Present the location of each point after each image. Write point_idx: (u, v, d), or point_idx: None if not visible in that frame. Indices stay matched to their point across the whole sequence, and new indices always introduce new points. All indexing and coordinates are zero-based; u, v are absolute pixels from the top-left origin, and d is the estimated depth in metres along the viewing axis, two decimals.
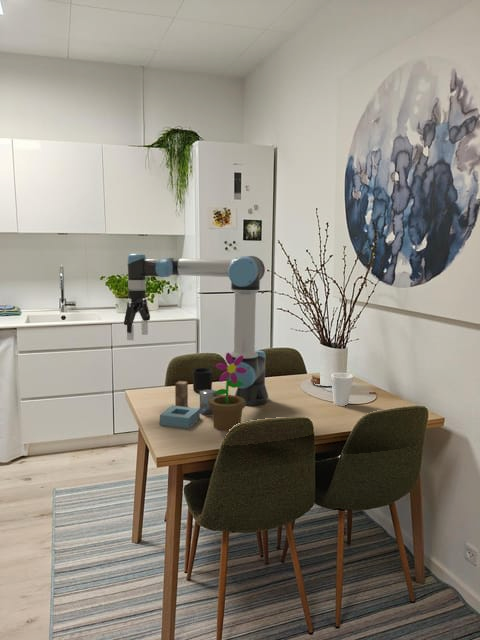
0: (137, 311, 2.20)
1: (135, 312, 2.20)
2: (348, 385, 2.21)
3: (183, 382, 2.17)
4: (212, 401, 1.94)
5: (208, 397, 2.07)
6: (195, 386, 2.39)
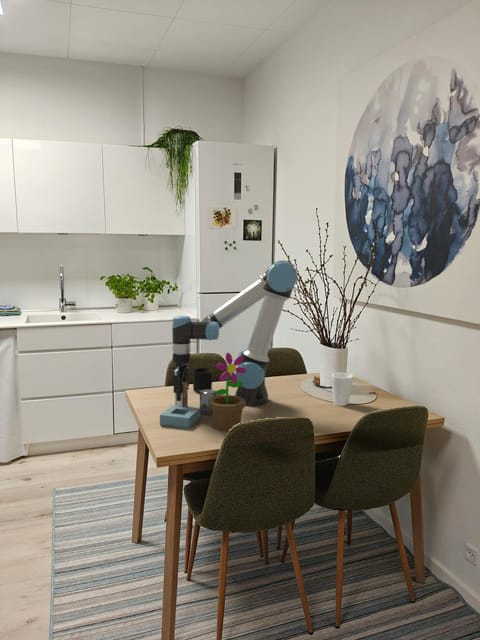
0: (183, 376, 2.14)
1: (182, 378, 2.14)
2: (348, 385, 2.21)
3: (183, 382, 2.17)
4: (212, 401, 1.94)
5: (208, 397, 2.07)
6: (195, 386, 2.39)
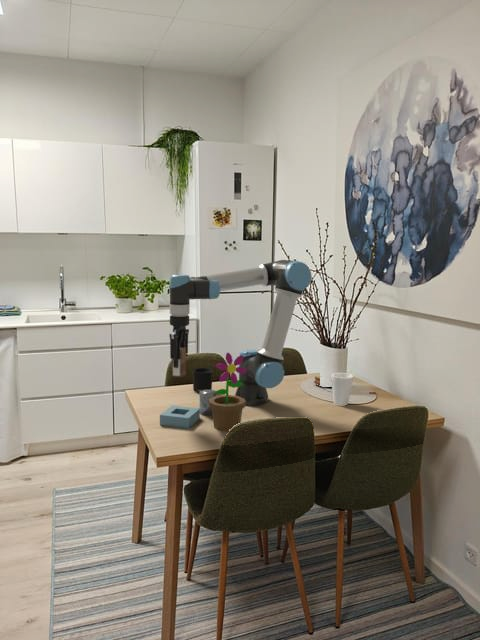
0: (181, 340, 1.96)
1: (179, 343, 1.95)
2: (348, 385, 2.21)
3: (181, 347, 1.98)
4: (212, 401, 1.94)
5: (208, 397, 2.07)
6: (195, 386, 2.39)
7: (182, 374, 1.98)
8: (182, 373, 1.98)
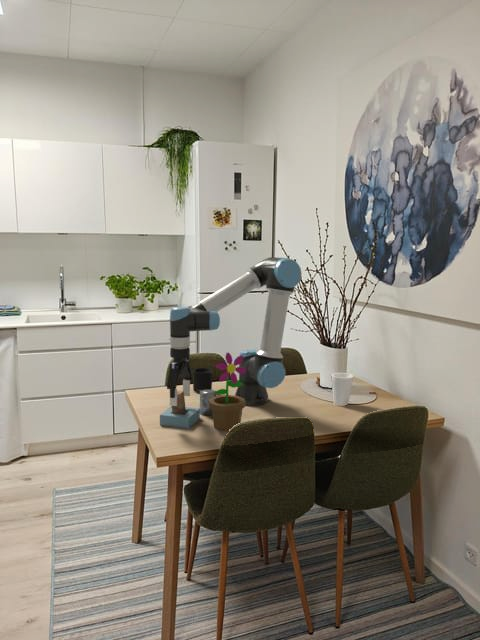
0: None
1: (178, 374, 1.94)
2: (348, 385, 2.21)
3: (179, 392, 2.00)
4: (212, 401, 1.94)
5: (209, 397, 2.08)
6: (195, 386, 2.39)
7: None
8: None
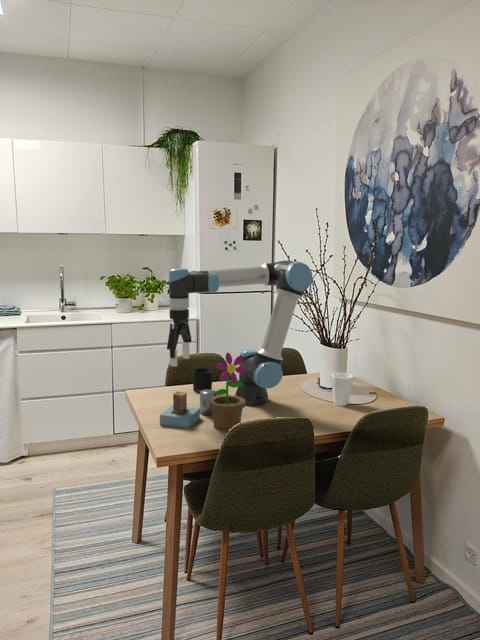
0: (180, 333, 1.96)
1: (178, 334, 1.95)
2: (348, 385, 2.21)
3: (182, 393, 2.00)
4: (212, 401, 1.94)
5: (209, 397, 2.07)
6: (195, 386, 2.39)
7: None
8: None
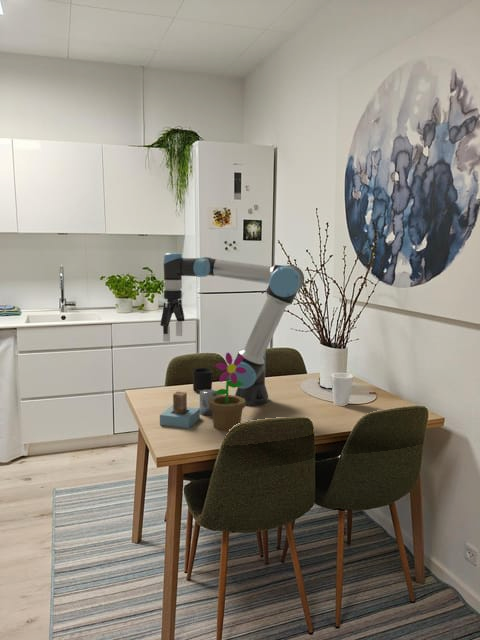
0: (173, 312, 2.15)
1: (171, 313, 2.14)
2: (348, 385, 2.21)
3: (182, 393, 2.00)
4: (212, 401, 1.94)
5: (209, 397, 2.08)
6: (195, 386, 2.39)
7: None
8: None
